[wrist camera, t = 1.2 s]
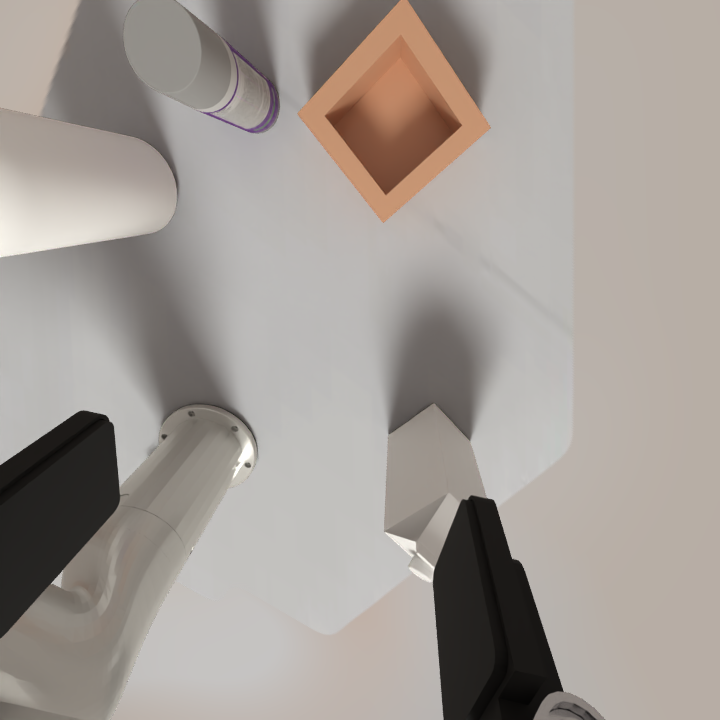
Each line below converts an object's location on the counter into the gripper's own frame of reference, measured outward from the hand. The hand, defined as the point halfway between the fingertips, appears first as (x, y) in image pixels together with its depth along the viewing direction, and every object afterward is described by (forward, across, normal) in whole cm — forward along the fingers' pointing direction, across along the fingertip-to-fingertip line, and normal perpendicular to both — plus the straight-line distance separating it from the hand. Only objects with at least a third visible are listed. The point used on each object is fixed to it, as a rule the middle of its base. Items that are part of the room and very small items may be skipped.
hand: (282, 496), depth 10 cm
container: (+33, +13, -12) cm, 37 cm away
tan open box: (+33, 0, -12) cm, 35 cm away
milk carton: (+32, -11, +18) cm, 39 cm away
